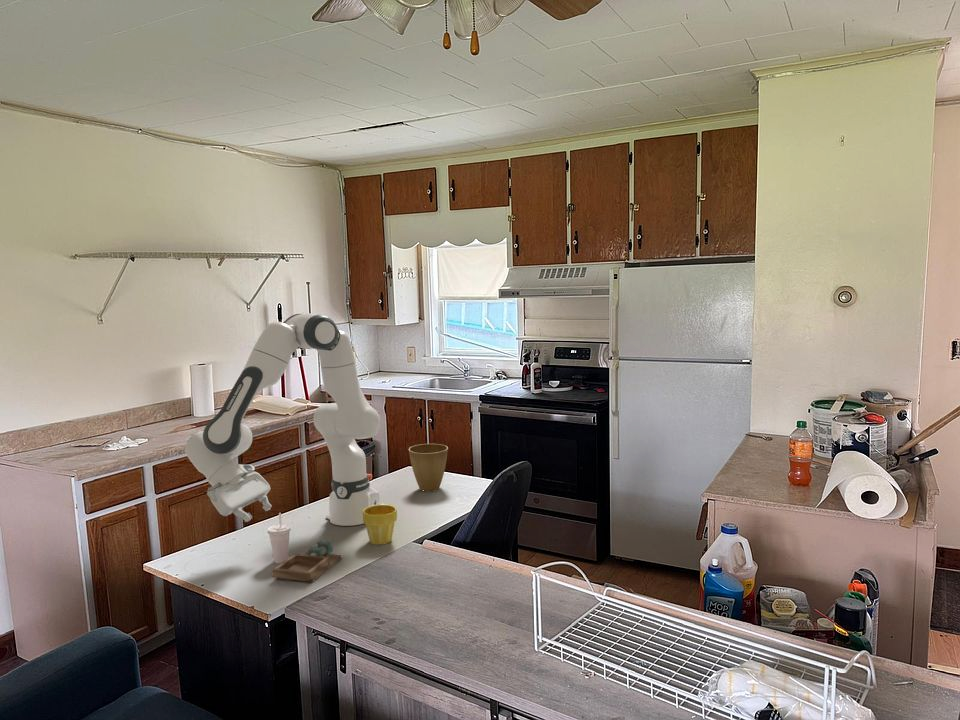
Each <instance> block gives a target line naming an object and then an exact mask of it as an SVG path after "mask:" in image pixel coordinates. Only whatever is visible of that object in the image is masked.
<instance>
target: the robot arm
mask: <svg viewBox="0 0 960 720" xmlns="http://www.w3.org/2000/svg"><path fill="white" fill-rule="evenodd" d="M298 348H300V349H305V350H316V351H317V354H318V355H319V356H318V357H319V361H320V363H319V364H320V369H321V370H320V371H321V376H322V382H323V387H324V390H325V392H326V393H327V394H328V395H329V396H331V399H333V401H334V402H331V403H324V404H320V405H319V406H318V407H317V408H316V409H315V411H314V414H313V419H312V420H313V424H314V427H315V429H316V430H317V431H318V432H319V433H320V434H321V436H322V437H323V440H324V441H325V444H326V446H327V448H328V451H329V455H330V460H331V470H332V472H331V473H332V479H331V484H330V485H331V490H332V492H330V493H329V502H328V503H329V504H328V505H329V507H328V510H329V511H328V512H327V514H326V515H325V517H326V519H327V520H329V523H331V524H333V525H336V526H342V527H343V526H346V527H348V526H351V527H352V526H358V525H364V524H365V523H364V522H363V510H364V509H365V508H367V507H370V506H374V505H387V504H386V503H383V502H381V500H380V499H381V498H380V493H379V491H377V490H376V489H374V487H372V486H370V481H372V479H373V474H372V473H367V464H366V463H367V462H366V459H367V458H366V454H365V452H364V450H363V449H362V448H361V447H360V446H359V445H358V444H357V441H356V440H364V439H371V438H374V437H375V436H376V435H377V434H378V432H379V430H380V428H381V416H380V414H379V412H378V411H377V410H376V409H375V408H374V407H372V405H371V404H370V403H369V402H368V399H367V398H366V396H365V394H364V392H363V391H362V388H361V385H360V382H359V381H360V380H359V377H358V371H357V364H356V359H355V358H356V357H355V354H354V349H353V346H352V343H351V339H350V337H349V335H348V333H347V332H345V331H344V330H340V329H339V328H338V326H337V325H336V323H335V322H334V320H332V319H331V318H330V317H328V316H327V315H324V314H316V313H311V312H308V313H296V314H292V315H291V316H289V317H287V318H286V319H285V320H284V321H283V322H282V321H273V322H270V323H269V324H267V325H266V327H265V328H264V329H263V331H262V333H261V334H260V335H259V337H258V339H257V340H256V341H255V344H254V347H253V349H252V350H251V352H250V355H249V357H248V359H247V361H246V364H245V366H243V369H242V371H241V372H240V375H239V377H238V378H237V380H236V381H235V383H234V384H233V386H232V388H231V390H230V391H229V394H228V396H227V398H226V399H225V401H224V403H223V404H222V407H221V409H220V411H218V413H217V414H216V415H215V416H214V417H213V418H211V420H210V421H208V423H207V424H206V425H205V427H204V430H200V431H197V432H196V433H195V434H193V435H192V436H191V437H190V438H189V439H188V441H186V445H185V446H184V453H185V455H186V457H187V458H188V460H189V461H190V462H191V463H192V465H193V466H194V468H196V470H197V471H198V472H199V473H201V474H203V476H205V478H206V480H207V482H208V483H209V484H210V486H209V487H208V488H207V492H206V495H207V496H208V497H209V499H210V502H211V504H212V505H213V506H214V507H215V509H216V510H217V512H218V513H219V515H221V516H223V517H227V516H229V515H232V514H234V515H235V516H236V517H238V518H240V519H243V521H244V522H245V523H247V522H250V521H252V519H253V515H252V514H251V513H250V512H246V511H244V510H243V508H245V507H247V506H249V505H251V504H252V503H254V502H256V501H259V502H260V503H261V504H262V505H263V506H262V509H263V510H264V511H265V512H268V511H269V510H271V509H272V507H273V506H272V504H271V503H270V502H269V498H268V496H267V495H268V494H269V493H270V491H271V489H272V488H271V485H270V483H269V482H268V481H267V480H266V479H265V478H264V477H263V476H262V475H261V474H260V473H259V472H257V471H255V466H253V465H252V464H240V463H236V462H235V461H234V459H236V458H238V457H239V456H241V455H242V454H244V453H246V451H248V450H249V449H250V447H251V446H252V444H253V439H254V435H253V431H252V429H251V428H250V427H249V426H248V425H246V424H244V423H242V422H243V419H244V417H245V415H246V413H247V411H248V409H249V408H250V406H251V403H252V402H253V400H254V398H255V397H256V395H257V394H258V393H259V392H261V391H262V390H263V389H266V388H268V387H271V386H274V385H276V384H278V382H279V380H280V379H282V376H283V375H284V374H285V372H286V369H287V367H288V365H289V363H290V360H291V357H292V355H293V353H294V352H295V351H296V350H297V349H298Z"/></svg>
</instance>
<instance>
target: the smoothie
mask: <svg viewBox="0 0 960 720" xmlns="http://www.w3.org/2000/svg"><path fill="white" fill-rule="evenodd" d="M278 521H279V522H278V523H279V524H274V525H272V526H270V527H267V534H268V535H269V540H270V546H271V552H272V556H273V561H274V563H275V564H281V563H283V562H284V561H285V560H287V559H288V558H289V551H290V550H289V549H290V535H291V534H290V532H291V530H292V529H291V525H289V524H285V523H282V513H281V512H279V513H278Z"/></svg>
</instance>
